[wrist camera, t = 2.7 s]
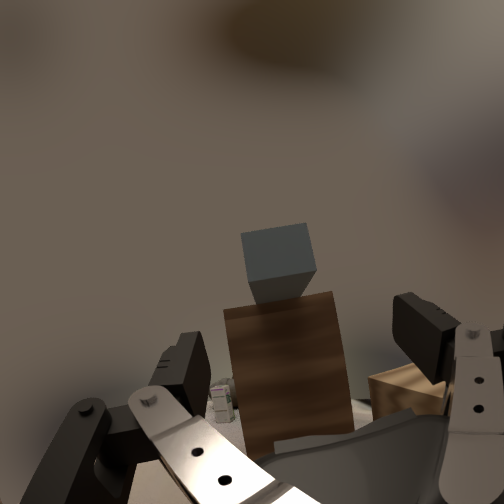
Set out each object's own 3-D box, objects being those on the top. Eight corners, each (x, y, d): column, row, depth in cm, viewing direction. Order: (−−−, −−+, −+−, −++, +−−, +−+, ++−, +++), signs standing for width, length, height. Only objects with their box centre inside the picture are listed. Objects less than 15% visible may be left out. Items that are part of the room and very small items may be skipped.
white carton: (230, 422, 97) (224, 386, 101) (215, 423, 98) (209, 387, 102) (235, 418, 102) (229, 384, 106) (221, 419, 103) (215, 385, 108)
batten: (316, 270, 17) (306, 222, 18) (248, 281, 17) (240, 233, 18) (289, 313, 42) (285, 293, 43) (261, 318, 42) (258, 298, 43)
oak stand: (512, 539, 7) (538, 349, 13) (429, 589, 7) (451, 399, 14) (442, 491, 24) (437, 354, 31) (378, 517, 24) (367, 376, 31)
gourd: (214, 409, 112) (210, 371, 120) (205, 409, 133) (202, 376, 141) (270, 404, 120) (265, 368, 128) (253, 406, 140) (249, 374, 149)
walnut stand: (362, 556, 17) (332, 290, 27) (273, 573, 17) (223, 309, 27) (337, 500, 32) (309, 310, 42) (273, 512, 32) (240, 321, 42)
